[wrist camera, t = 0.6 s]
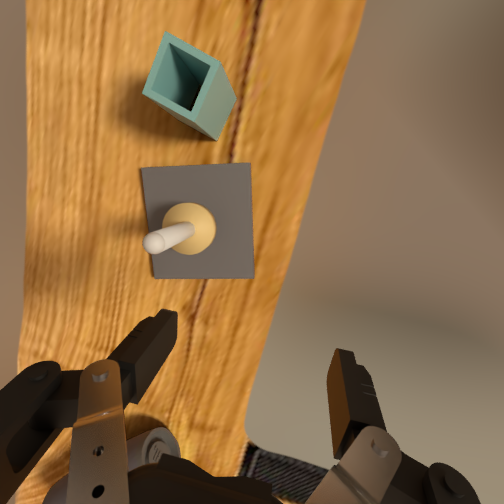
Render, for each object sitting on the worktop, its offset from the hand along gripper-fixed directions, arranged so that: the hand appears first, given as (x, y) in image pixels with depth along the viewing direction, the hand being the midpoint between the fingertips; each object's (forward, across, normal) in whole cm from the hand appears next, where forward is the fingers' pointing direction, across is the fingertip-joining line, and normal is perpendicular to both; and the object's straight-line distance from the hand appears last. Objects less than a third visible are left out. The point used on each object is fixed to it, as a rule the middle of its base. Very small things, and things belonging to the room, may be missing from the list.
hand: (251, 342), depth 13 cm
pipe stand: (+25, +12, +3) cm, 28 cm away
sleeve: (+28, +12, -12) cm, 32 cm away
